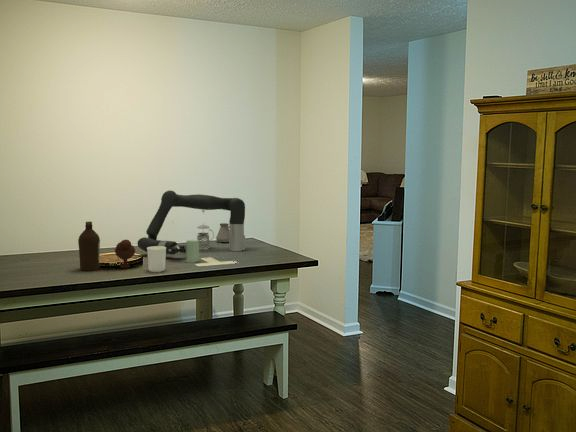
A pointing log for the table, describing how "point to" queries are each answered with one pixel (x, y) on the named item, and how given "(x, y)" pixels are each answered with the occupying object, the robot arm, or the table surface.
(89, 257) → the olive oil
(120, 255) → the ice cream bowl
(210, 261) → the T mat
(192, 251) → the green block
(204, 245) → the french press
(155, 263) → the candle holder
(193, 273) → the table surface
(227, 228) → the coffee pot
